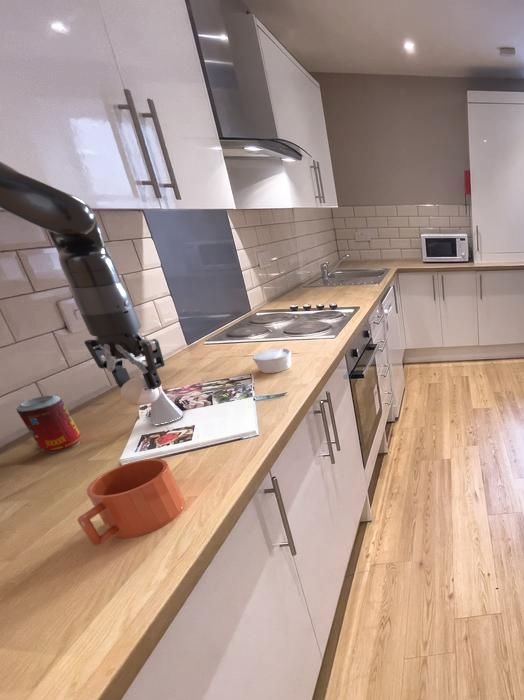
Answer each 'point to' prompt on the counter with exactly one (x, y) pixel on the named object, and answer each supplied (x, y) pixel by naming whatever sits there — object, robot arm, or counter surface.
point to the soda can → (49, 423)
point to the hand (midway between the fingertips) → (140, 386)
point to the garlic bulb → (139, 391)
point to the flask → (164, 410)
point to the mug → (133, 500)
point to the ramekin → (273, 360)
